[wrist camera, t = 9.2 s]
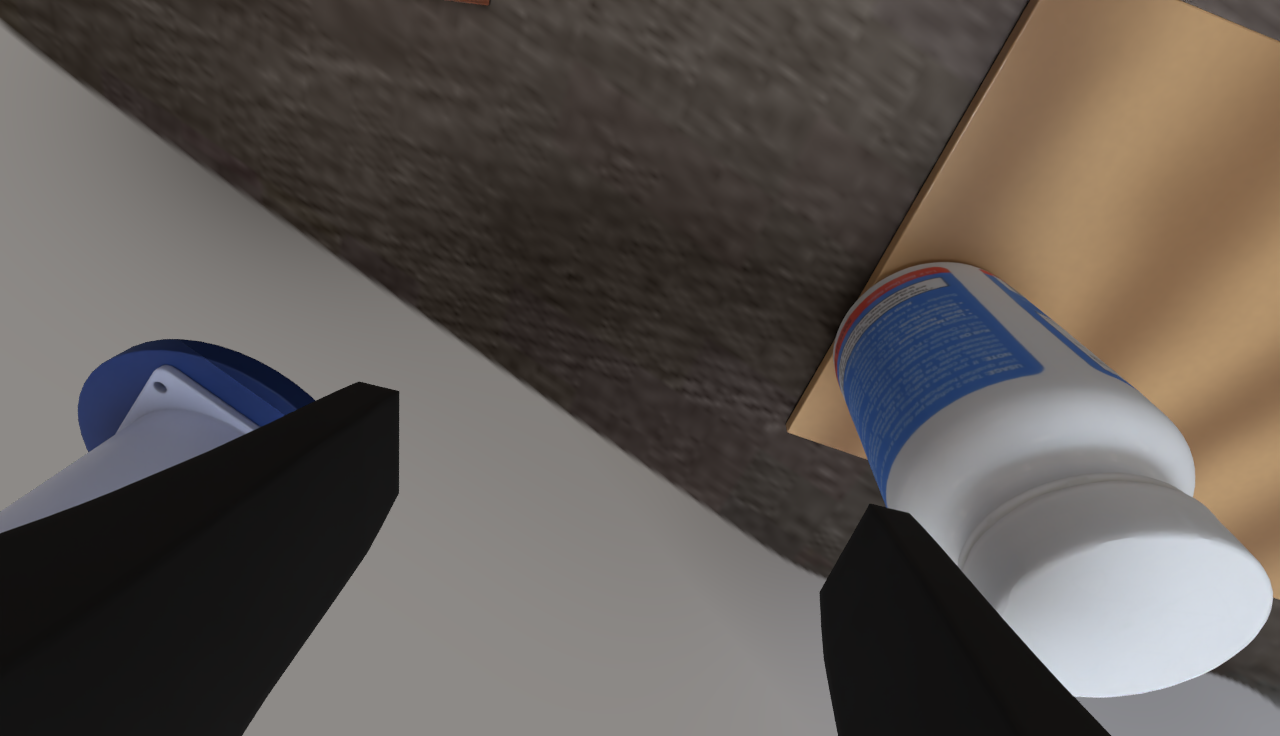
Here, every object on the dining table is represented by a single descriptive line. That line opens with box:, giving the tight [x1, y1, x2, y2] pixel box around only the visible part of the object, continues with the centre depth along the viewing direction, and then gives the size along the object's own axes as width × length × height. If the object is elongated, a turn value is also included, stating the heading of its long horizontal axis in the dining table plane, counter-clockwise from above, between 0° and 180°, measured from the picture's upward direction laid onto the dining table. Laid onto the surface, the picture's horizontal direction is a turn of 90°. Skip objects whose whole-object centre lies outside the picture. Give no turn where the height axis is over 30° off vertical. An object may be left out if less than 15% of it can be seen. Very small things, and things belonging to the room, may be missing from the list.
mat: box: [786, 0, 1280, 600], centre depth 17 cm, size 24×14×1 cm, turn 72°
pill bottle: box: [833, 262, 1273, 697], centre depth 13 cm, size 6×5×10 cm
